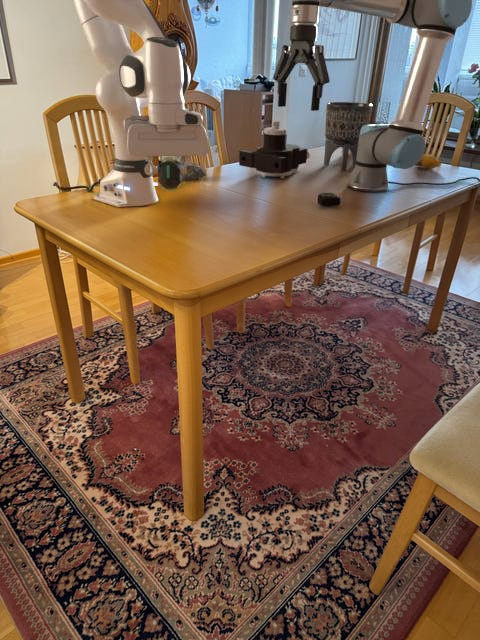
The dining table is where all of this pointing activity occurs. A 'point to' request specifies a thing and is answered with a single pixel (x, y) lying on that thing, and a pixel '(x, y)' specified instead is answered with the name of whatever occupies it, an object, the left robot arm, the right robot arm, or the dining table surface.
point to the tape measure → (328, 199)
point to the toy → (428, 162)
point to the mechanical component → (274, 154)
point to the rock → (194, 172)
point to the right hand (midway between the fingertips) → (297, 108)
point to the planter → (345, 128)
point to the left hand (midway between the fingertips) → (169, 173)
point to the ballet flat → (170, 171)
